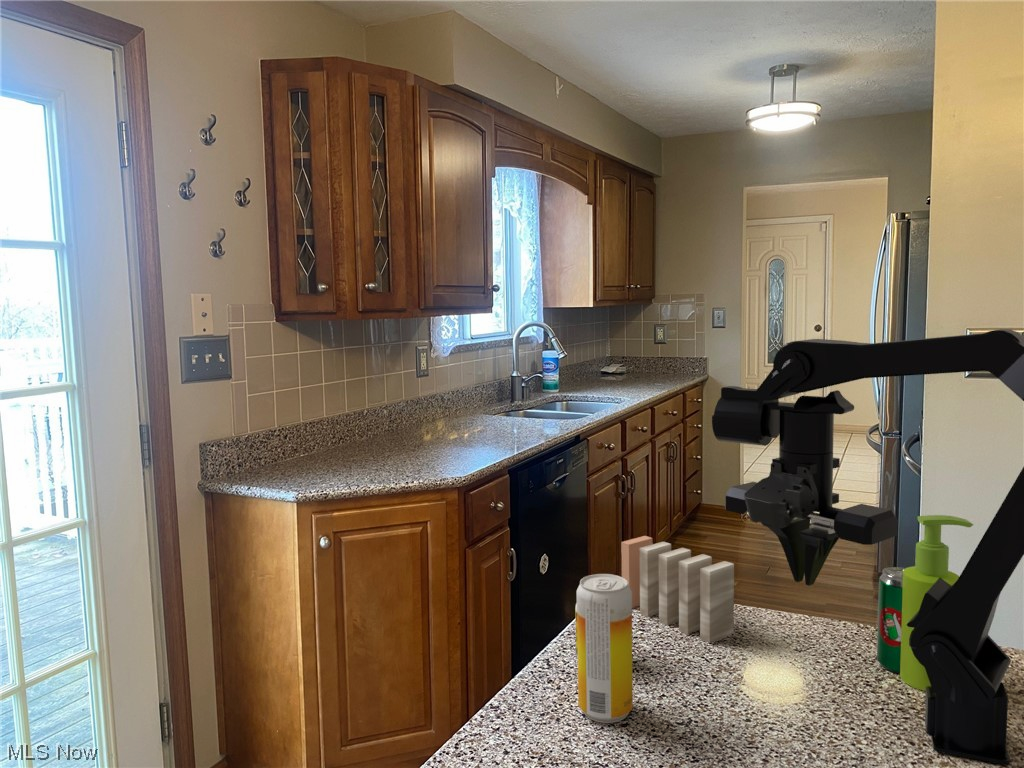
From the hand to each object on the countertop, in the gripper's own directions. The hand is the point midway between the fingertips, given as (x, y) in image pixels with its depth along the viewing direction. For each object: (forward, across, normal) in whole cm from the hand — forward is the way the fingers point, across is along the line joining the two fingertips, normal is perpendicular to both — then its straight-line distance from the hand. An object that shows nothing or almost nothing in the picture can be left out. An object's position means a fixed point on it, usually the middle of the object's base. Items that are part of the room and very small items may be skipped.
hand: (804, 583), depth 86 cm
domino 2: (+13, -27, +4) cm, 30 cm away
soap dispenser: (+13, +8, +14) cm, 21 cm away
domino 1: (+13, -31, +4) cm, 34 cm away
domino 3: (+13, -23, +4) cm, 27 cm away
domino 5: (+13, -16, +4) cm, 21 cm away
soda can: (+13, +4, +14) cm, 20 cm away
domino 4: (+13, -19, +4) cm, 24 cm away
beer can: (+13, -11, -21) cm, 27 cm away
